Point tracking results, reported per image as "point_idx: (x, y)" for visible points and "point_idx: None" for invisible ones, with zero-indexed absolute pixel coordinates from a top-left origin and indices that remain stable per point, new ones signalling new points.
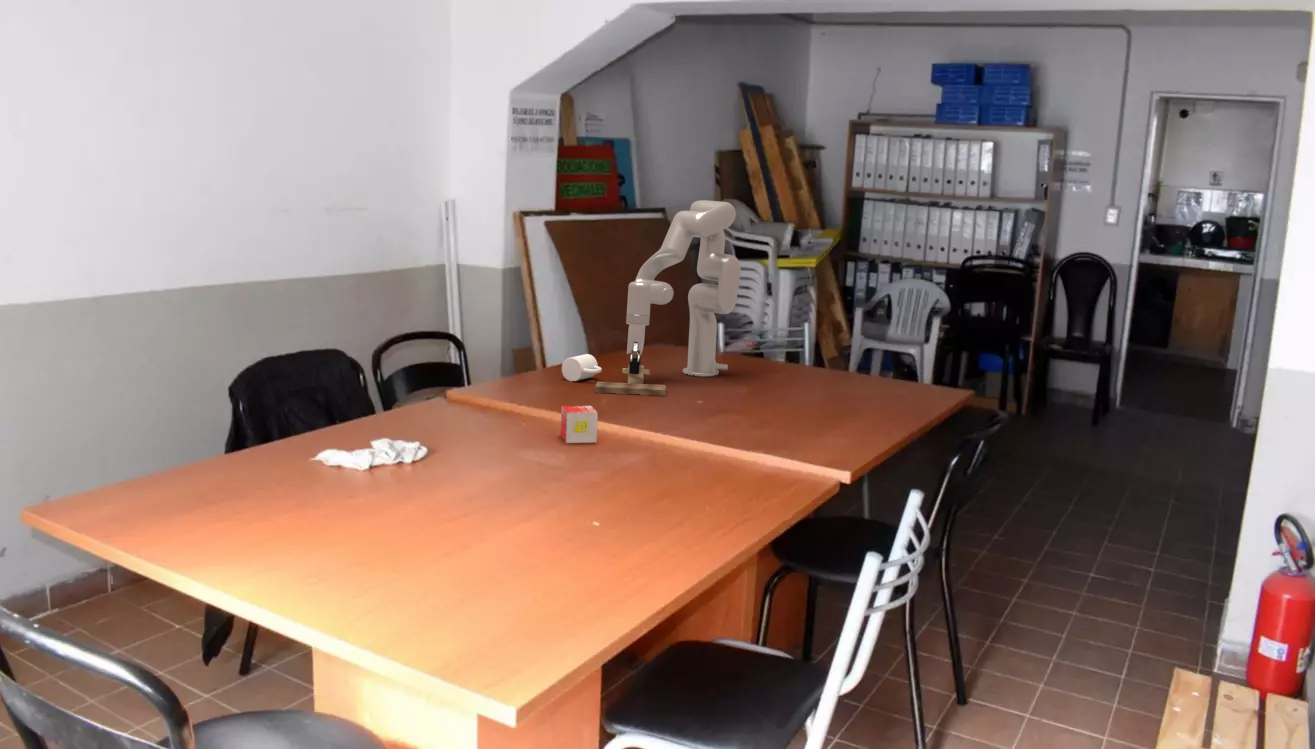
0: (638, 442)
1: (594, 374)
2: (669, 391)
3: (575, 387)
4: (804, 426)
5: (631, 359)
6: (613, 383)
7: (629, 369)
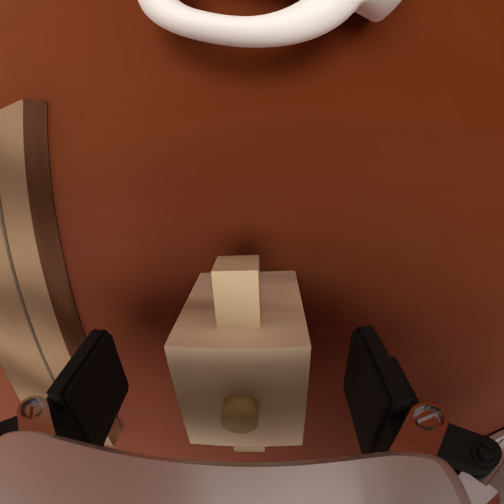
0: None
1: (359, 14)
2: (128, 437)
3: (45, 3)
4: None
5: (21, 415)
6: (10, 209)
7: (81, 346)
